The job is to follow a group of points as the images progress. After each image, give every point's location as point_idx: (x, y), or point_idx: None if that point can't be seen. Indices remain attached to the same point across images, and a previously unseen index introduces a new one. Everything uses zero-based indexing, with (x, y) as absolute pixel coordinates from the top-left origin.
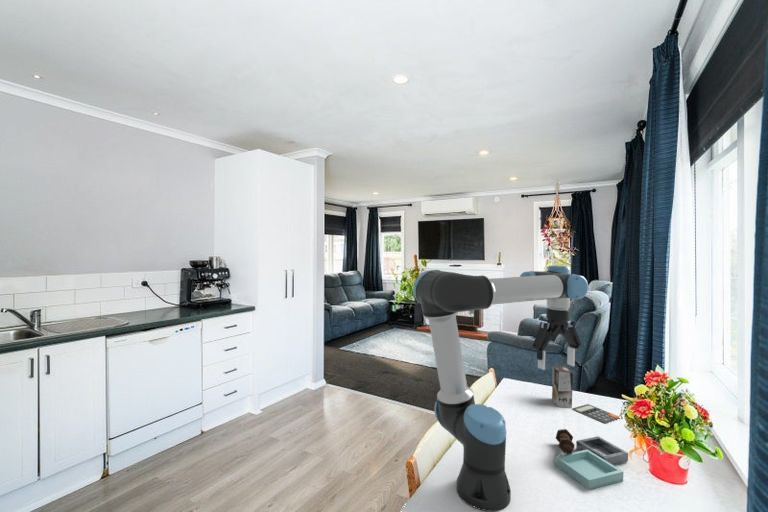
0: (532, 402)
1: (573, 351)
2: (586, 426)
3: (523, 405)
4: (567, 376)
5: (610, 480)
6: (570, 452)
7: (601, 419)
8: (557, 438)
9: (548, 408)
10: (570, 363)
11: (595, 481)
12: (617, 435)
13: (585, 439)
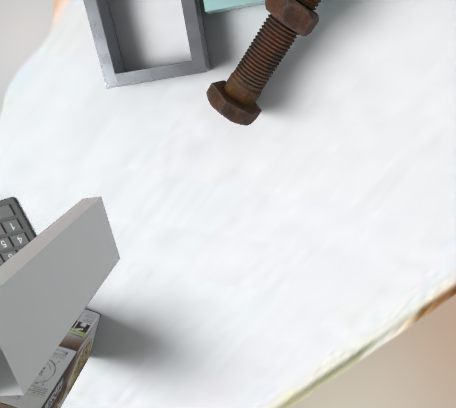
0: (164, 350)
1: (9, 279)
2: (84, 193)
3: (204, 340)
4: None
5: None
6: None
7: (10, 219)
8: (257, 108)
9: (136, 310)
10: (102, 233)
11: None
12: (17, 126)
13: (167, 75)
